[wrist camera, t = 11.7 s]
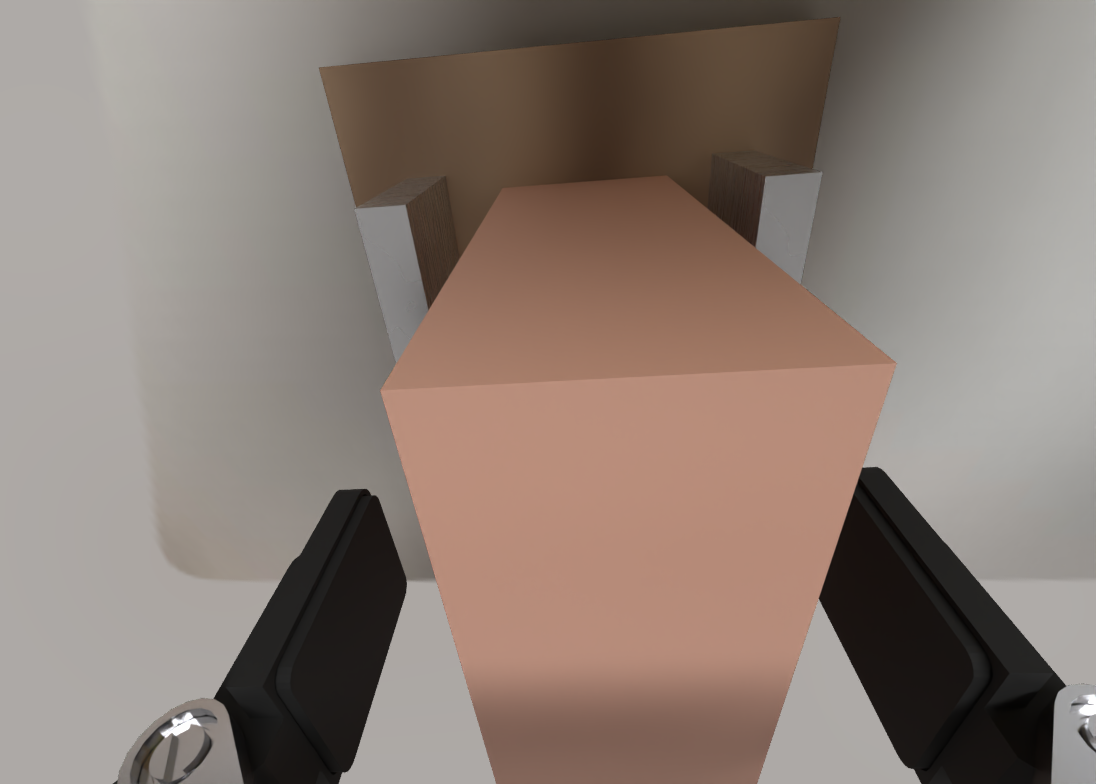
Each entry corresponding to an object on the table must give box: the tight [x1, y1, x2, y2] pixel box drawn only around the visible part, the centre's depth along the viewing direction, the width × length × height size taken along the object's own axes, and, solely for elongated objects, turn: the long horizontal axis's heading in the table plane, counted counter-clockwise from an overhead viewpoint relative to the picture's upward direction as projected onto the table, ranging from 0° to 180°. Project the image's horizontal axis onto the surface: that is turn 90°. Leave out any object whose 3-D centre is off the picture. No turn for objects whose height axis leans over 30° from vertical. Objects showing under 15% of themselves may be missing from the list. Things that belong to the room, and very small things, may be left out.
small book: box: [380, 175, 897, 784], centre depth 13 cm, size 5×11×12 cm, turn 4°
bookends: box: [354, 150, 823, 363], centre depth 16 cm, size 10×12×4 cm
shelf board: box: [319, 17, 840, 258], centre depth 19 cm, size 14×18×2 cm
